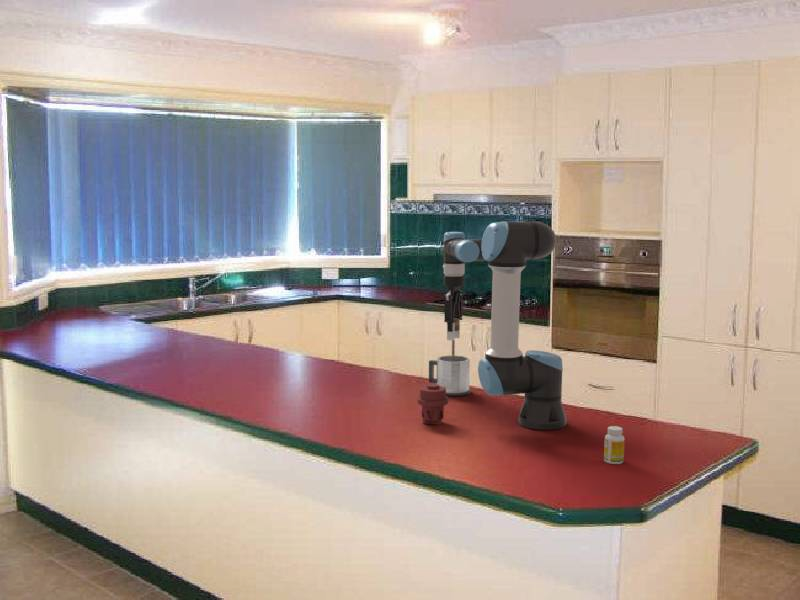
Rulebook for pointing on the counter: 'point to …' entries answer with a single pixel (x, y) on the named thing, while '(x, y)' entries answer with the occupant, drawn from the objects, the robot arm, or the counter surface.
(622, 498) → the counter surface
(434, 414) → the mechanical component
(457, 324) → the plunger
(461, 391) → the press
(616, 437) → the supplement bottle
